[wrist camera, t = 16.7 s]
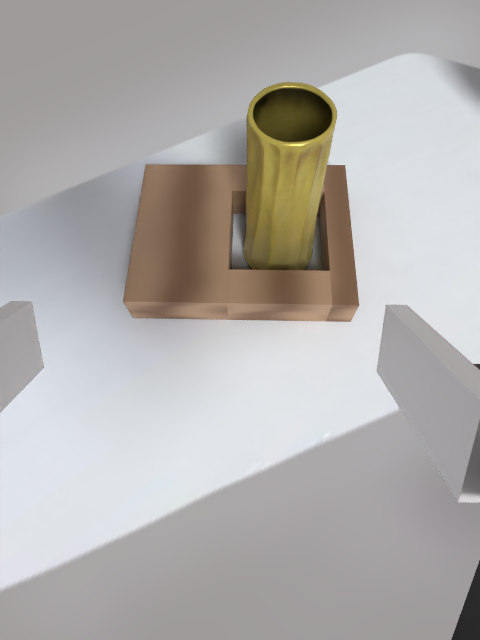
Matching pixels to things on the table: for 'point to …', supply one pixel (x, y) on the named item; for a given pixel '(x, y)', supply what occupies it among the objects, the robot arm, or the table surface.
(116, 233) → the table surface
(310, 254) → the vase
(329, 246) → the frame
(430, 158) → the table surface
